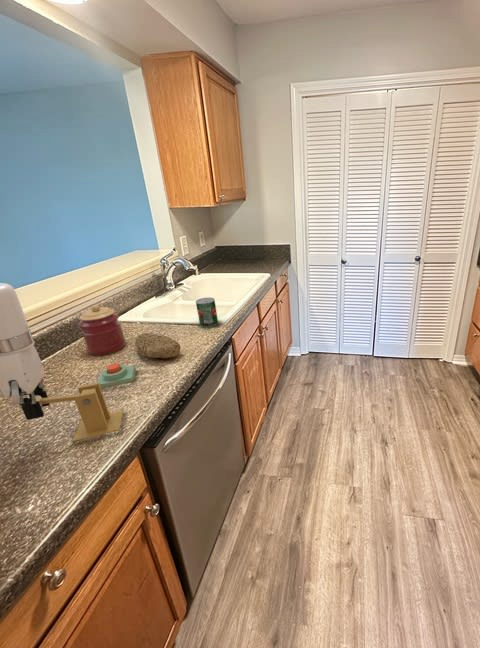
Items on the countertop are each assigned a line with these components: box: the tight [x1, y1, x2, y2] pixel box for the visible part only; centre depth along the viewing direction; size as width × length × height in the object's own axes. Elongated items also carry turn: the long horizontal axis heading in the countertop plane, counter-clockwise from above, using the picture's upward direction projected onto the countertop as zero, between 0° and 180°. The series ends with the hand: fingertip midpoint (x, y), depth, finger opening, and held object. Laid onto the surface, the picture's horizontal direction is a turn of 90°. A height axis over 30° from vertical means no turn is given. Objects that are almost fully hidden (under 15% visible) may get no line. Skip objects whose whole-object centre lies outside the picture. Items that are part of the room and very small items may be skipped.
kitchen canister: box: [78, 304, 126, 356], centre depth 121 cm, size 13×13×18 cm
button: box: [106, 362, 121, 374], centre depth 101 cm, size 4×4×2 cm
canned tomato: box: [195, 297, 219, 328], centre depth 140 cm, size 8×8×11 cm
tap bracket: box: [72, 381, 124, 442], centre depth 80 cm, size 10×8×12 cm
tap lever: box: [27, 388, 96, 406], centre depth 76 cm, size 14×4×4 cm, turn 110°
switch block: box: [96, 364, 137, 389], centre depth 102 cm, size 10×8×4 cm
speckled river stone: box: [134, 332, 182, 359], centre depth 117 cm, size 13×8×20 cm
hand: (39, 411), depth 76 cm, fingers closed on tap lever, 3 cm apart
